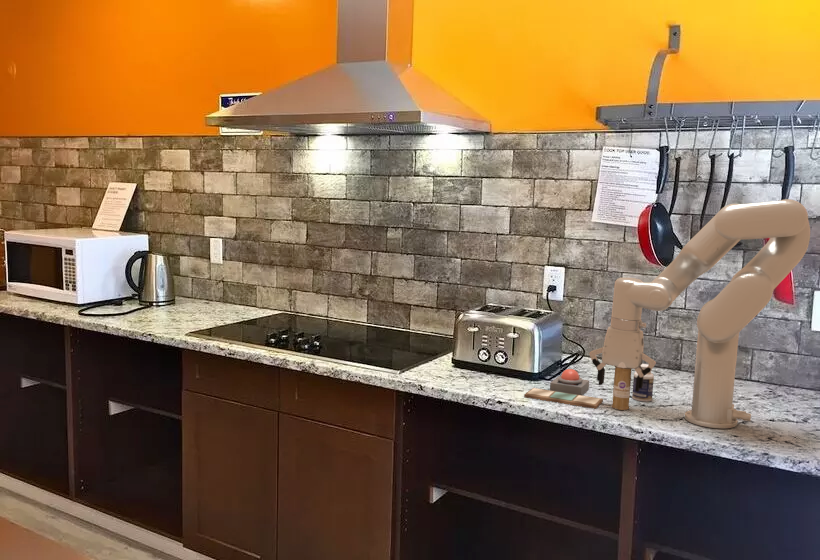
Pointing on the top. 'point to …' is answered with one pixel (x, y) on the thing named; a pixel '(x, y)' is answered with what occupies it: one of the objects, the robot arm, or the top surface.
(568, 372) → the dome button
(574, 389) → the button housing
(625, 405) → the sprinkles bottle
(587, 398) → the board
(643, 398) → the pill bottle
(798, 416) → the top surface
